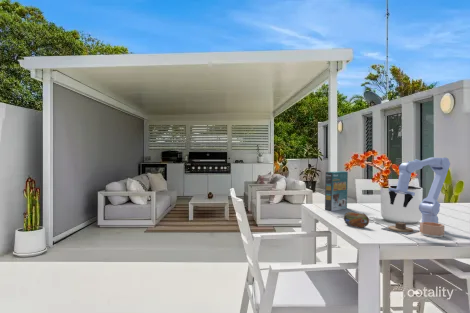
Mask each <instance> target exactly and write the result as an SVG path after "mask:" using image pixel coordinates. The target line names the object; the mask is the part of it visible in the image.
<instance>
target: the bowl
mask: <svg viewBox="0 0 470 313" xmlns="http://www.w3.org/2000/svg"><path fill="white" fill-rule="evenodd" d="M419 227H420V228H419V231H420V235H422V236H425V237H430V238H443V237H444V235H445V224H442V223H439V222H438V223H434V222H422V221H421V222H419Z"/></svg>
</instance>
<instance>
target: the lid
mask: <svg viewBox="0 0 470 313" xmlns="http://www.w3.org/2000/svg"><path fill="white" fill-rule="evenodd" d="M387 227H388V229H390V230H393V231H398V232H413V228H412V227H409V226H407V223H405V222H402V221H401V222H400V221H398V222H395V225H390V226H387Z"/></svg>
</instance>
